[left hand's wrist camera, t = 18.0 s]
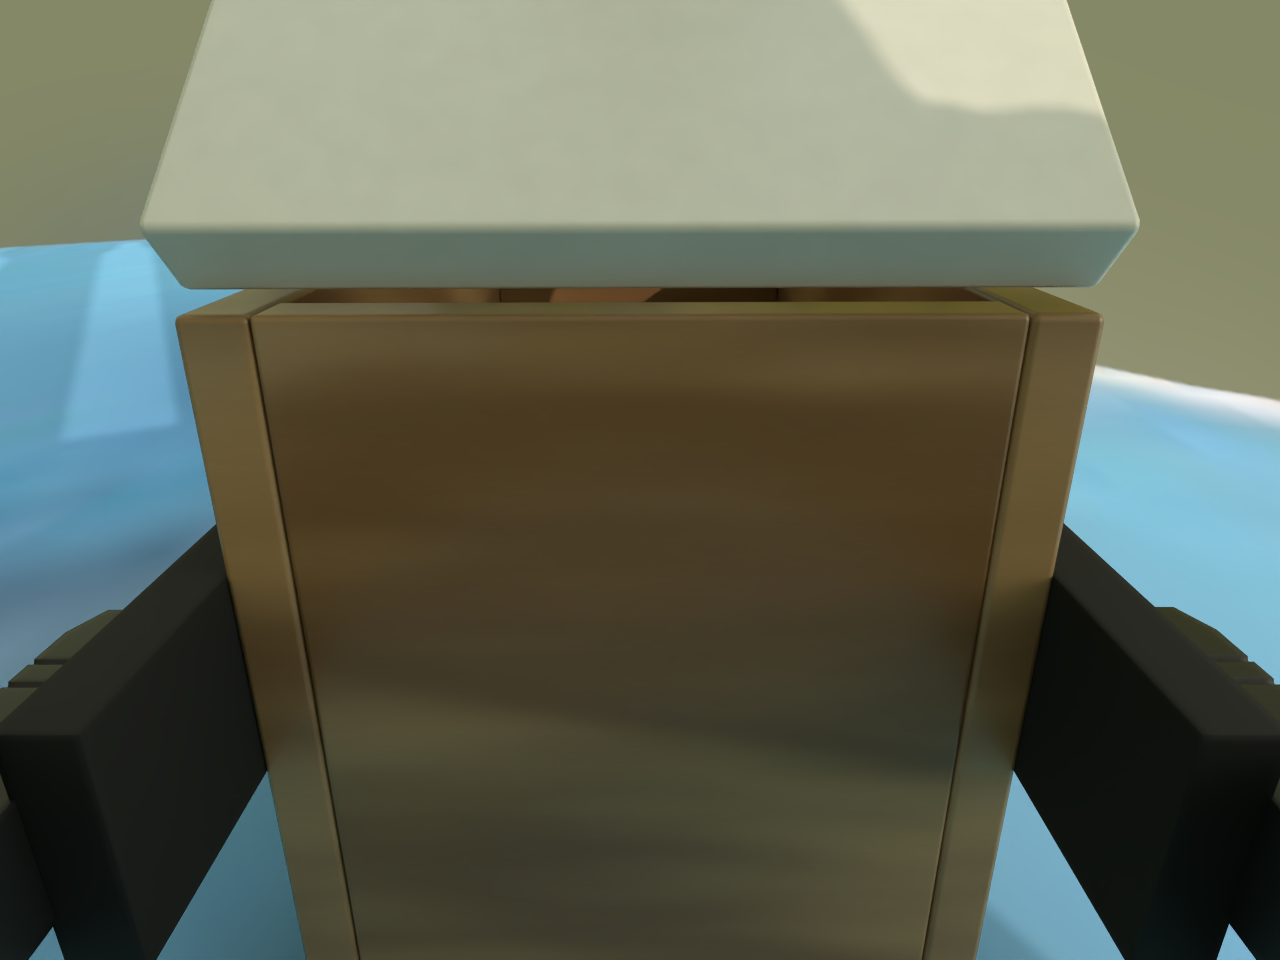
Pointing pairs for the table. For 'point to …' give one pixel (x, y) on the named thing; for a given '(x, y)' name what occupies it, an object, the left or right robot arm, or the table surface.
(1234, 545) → the table surface
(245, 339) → the chest
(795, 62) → the lid
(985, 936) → the table surface
